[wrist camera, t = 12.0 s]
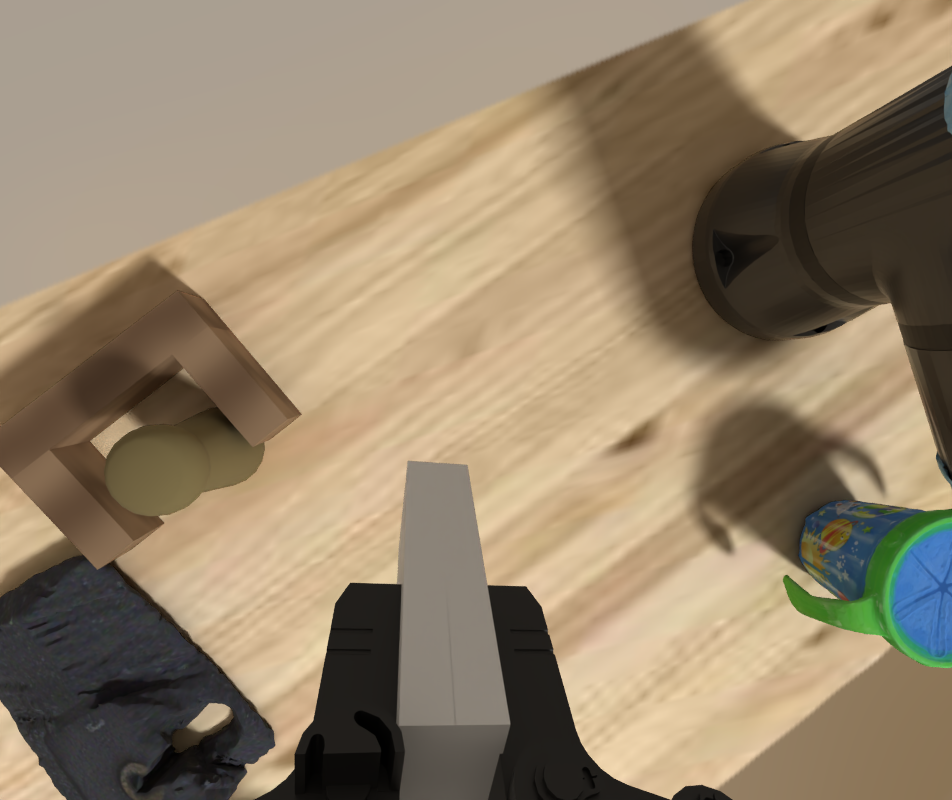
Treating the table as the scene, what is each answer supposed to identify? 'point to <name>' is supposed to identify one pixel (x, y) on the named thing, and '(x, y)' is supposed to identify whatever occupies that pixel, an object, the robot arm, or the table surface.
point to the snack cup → (881, 575)
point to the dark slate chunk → (116, 692)
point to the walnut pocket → (111, 396)
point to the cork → (178, 463)
